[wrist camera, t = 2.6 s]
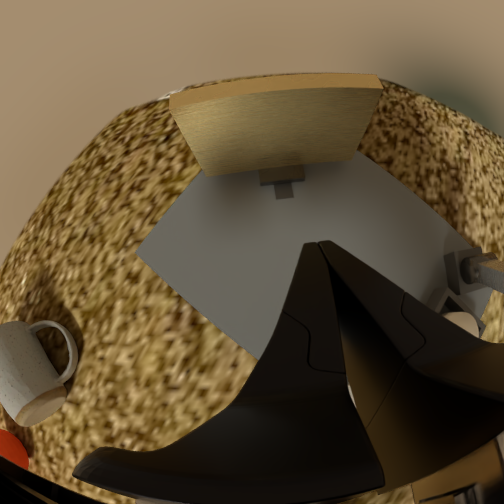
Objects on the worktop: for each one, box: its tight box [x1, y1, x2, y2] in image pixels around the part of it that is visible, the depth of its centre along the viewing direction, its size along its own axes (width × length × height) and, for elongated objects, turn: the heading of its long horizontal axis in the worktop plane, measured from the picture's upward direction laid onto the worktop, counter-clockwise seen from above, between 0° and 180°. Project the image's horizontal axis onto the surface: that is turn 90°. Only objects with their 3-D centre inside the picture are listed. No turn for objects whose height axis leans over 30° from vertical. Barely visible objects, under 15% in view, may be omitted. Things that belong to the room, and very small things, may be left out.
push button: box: [442, 312, 479, 338], centre depth 14 cm, size 4×4×2 cm
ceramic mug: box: [0, 320, 78, 427], centre depth 17 cm, size 11×8×8 cm
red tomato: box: [0, 429, 29, 470], centre depth 15 cm, size 8×7×7 cm
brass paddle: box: [169, 73, 384, 186], centre depth 15 cm, size 3×10×8 cm, turn 96°
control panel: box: [135, 150, 493, 383], centre depth 18 cm, size 16×24×4 cm
